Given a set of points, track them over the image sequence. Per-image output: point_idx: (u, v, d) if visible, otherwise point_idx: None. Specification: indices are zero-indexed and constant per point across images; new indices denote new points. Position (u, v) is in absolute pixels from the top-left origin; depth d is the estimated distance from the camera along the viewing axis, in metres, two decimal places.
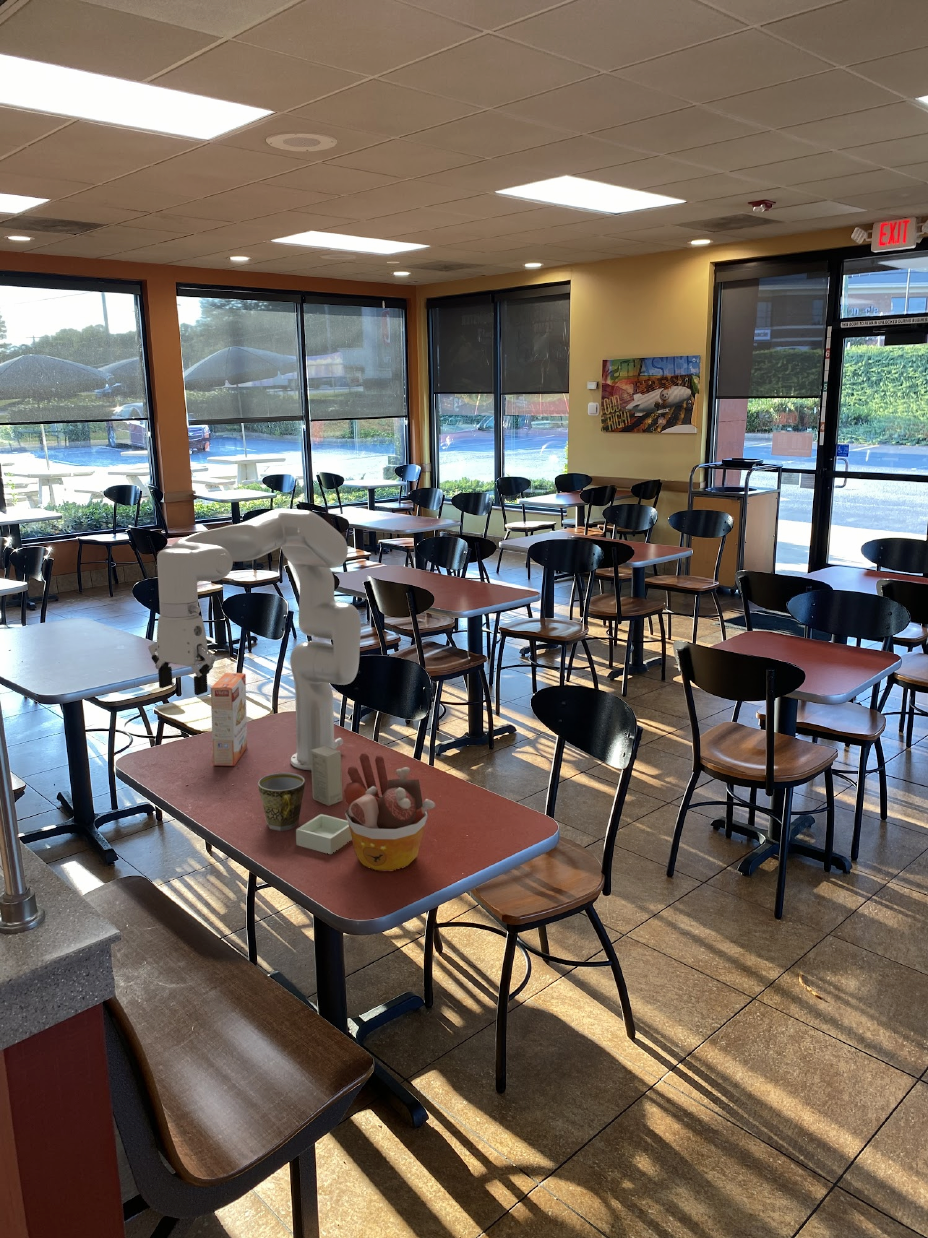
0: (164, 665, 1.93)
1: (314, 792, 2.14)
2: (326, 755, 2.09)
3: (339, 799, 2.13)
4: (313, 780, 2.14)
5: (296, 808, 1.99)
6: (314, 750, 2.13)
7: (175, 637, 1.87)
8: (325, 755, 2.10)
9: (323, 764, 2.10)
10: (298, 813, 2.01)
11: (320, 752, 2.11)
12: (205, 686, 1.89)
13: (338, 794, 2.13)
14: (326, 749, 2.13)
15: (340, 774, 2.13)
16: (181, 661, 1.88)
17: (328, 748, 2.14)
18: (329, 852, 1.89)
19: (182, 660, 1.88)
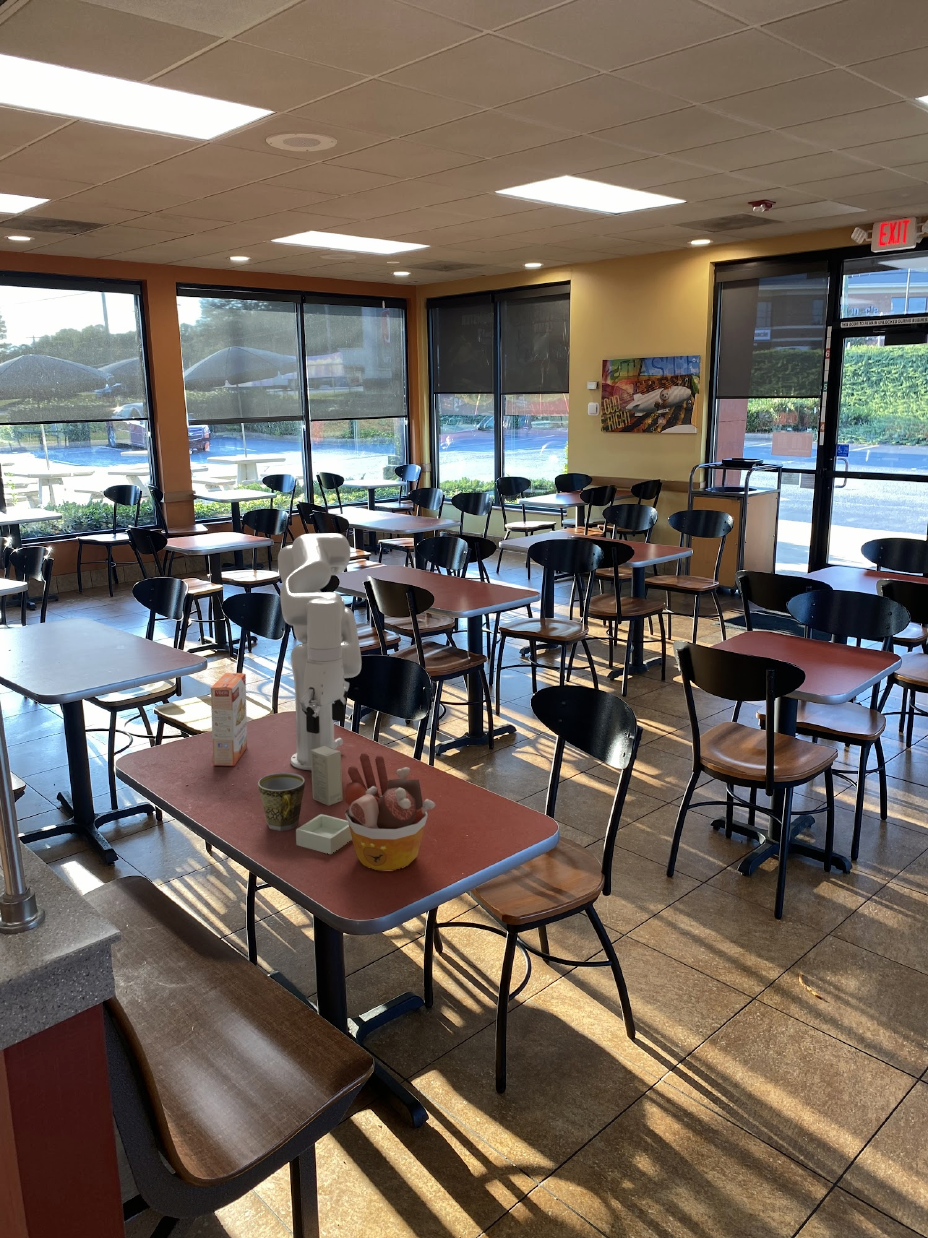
0: None
1: (314, 792, 2.14)
2: (326, 755, 2.09)
3: (339, 799, 2.13)
4: (313, 780, 2.14)
5: (296, 808, 1.99)
6: (314, 750, 2.13)
7: (336, 676, 2.08)
8: (325, 755, 2.10)
9: (323, 764, 2.10)
10: (298, 813, 2.01)
11: (320, 752, 2.11)
12: None
13: (338, 794, 2.13)
14: (327, 749, 2.13)
15: (340, 774, 2.13)
16: (338, 696, 2.10)
17: (328, 748, 2.14)
18: (329, 852, 1.89)
19: (339, 695, 2.10)
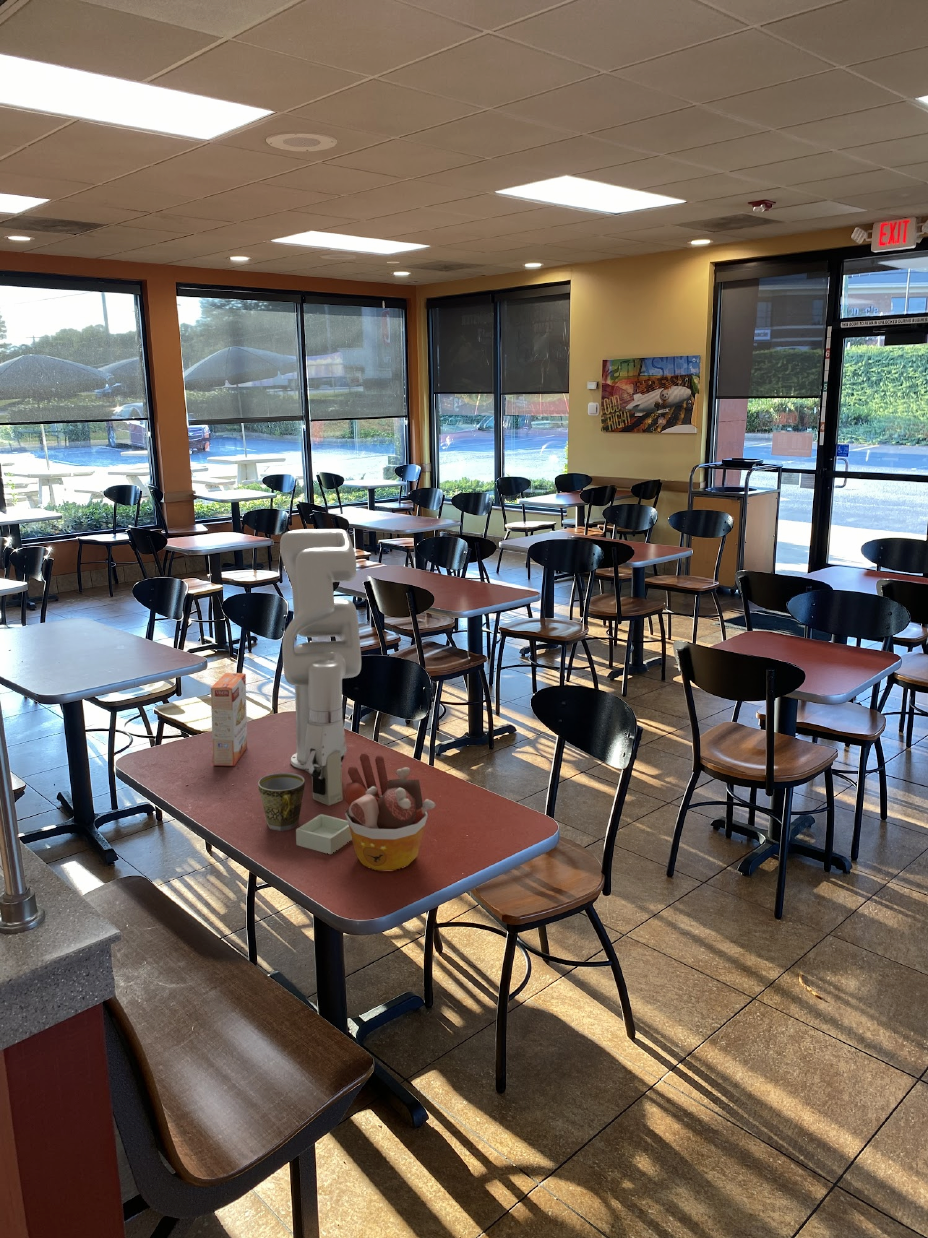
0: None
1: None
2: None
3: (339, 799, 2.13)
4: None
5: (296, 808, 1.99)
6: None
7: (337, 736, 2.11)
8: None
9: None
10: (298, 813, 2.01)
11: None
12: None
13: (338, 794, 2.13)
14: None
15: (340, 774, 2.13)
16: None
17: None
18: (329, 852, 1.89)
19: None
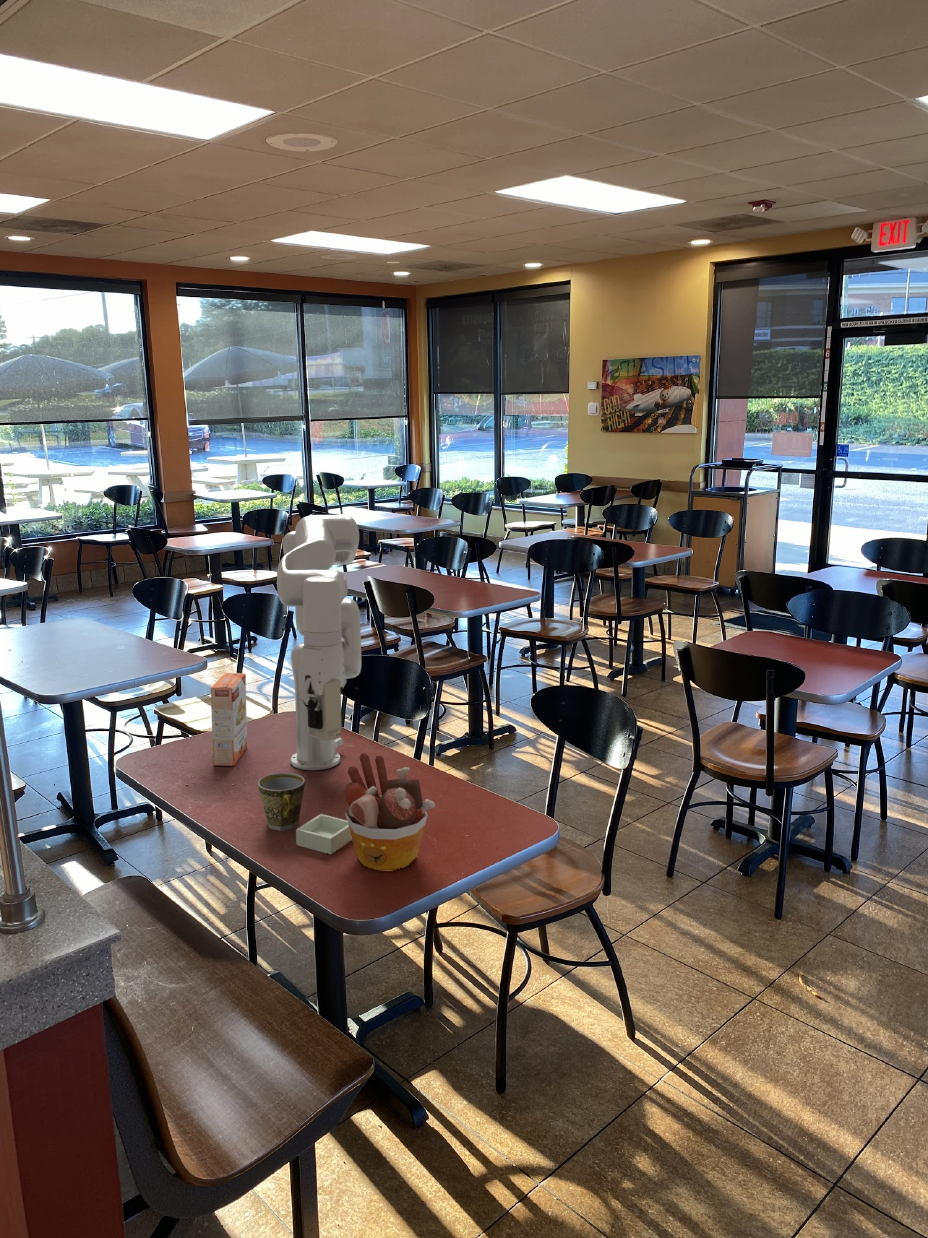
0: None
1: None
2: None
3: (338, 735, 1.89)
4: None
5: (296, 808, 1.99)
6: None
7: (336, 663, 1.87)
8: None
9: None
10: (298, 813, 2.01)
11: None
12: None
13: (336, 728, 1.88)
14: None
15: (339, 706, 1.88)
16: None
17: None
18: (329, 852, 1.89)
19: None
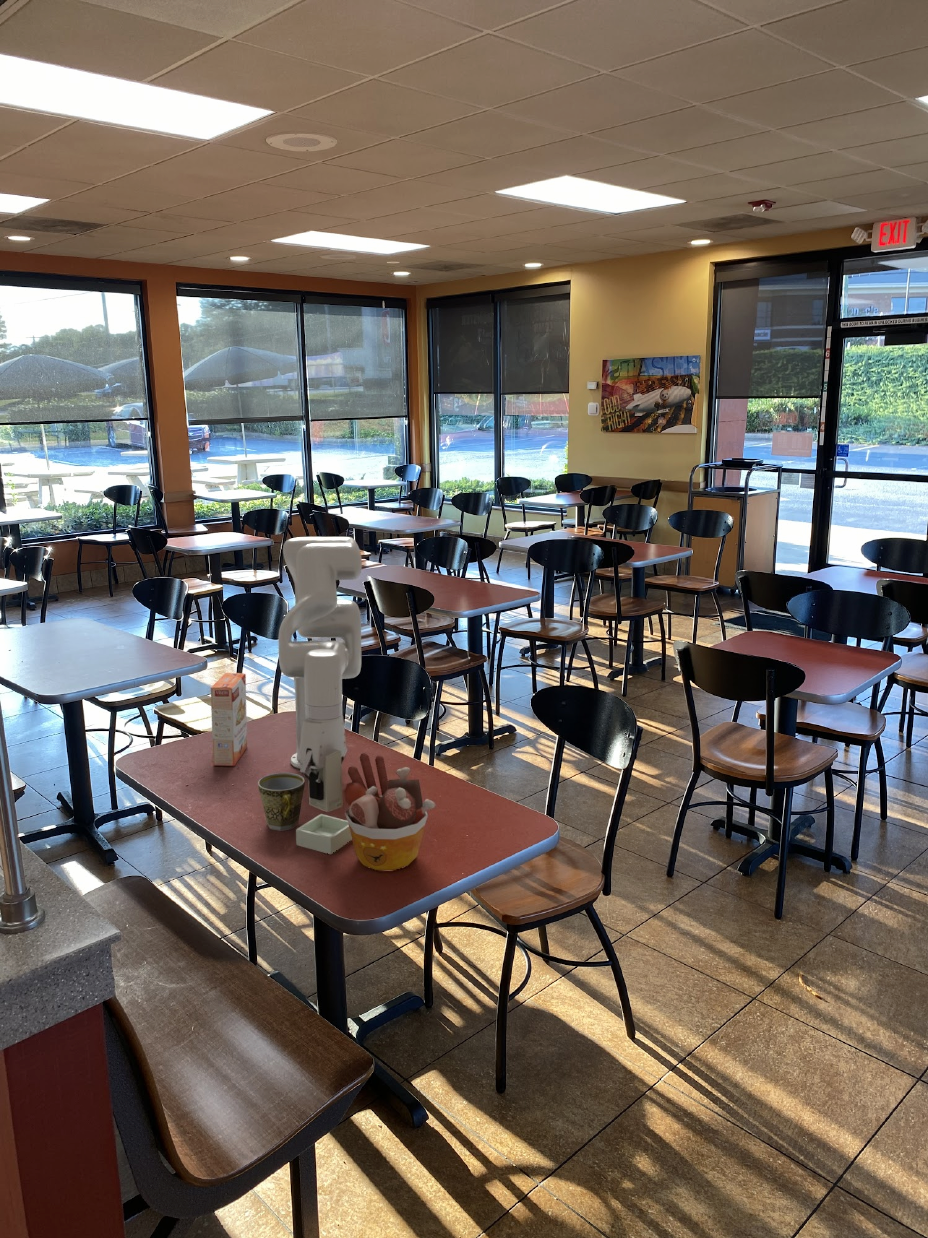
0: None
1: None
2: None
3: (339, 805, 1.91)
4: None
5: (296, 808, 1.99)
6: None
7: (336, 735, 1.89)
8: None
9: None
10: (298, 813, 2.01)
11: None
12: None
13: (337, 799, 1.90)
14: None
15: (340, 777, 1.90)
16: None
17: None
18: (329, 852, 1.89)
19: None
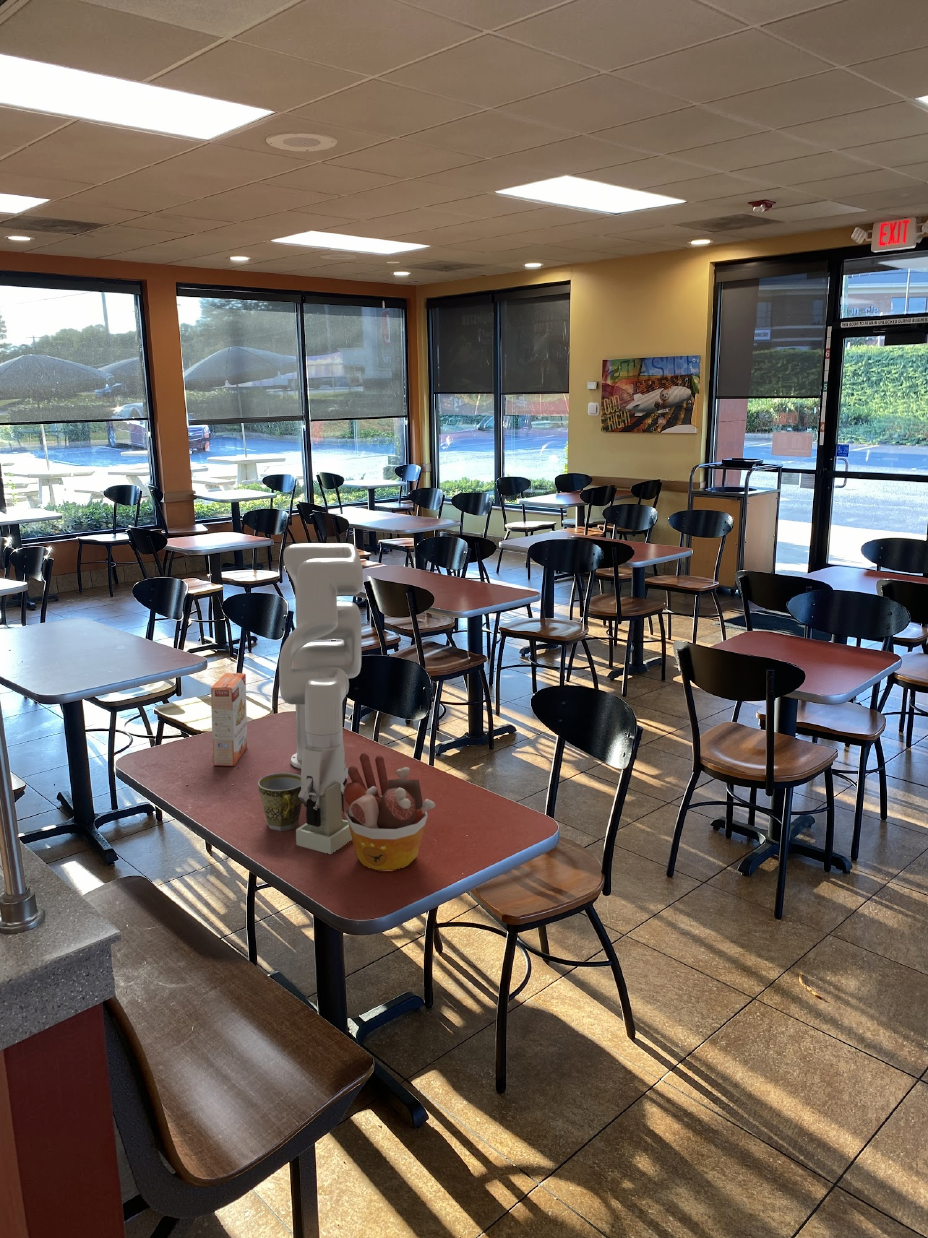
0: None
1: (311, 829, 1.93)
2: None
3: None
4: None
5: (296, 808, 1.99)
6: None
7: (337, 762, 1.90)
8: None
9: (322, 798, 1.89)
10: (298, 813, 2.01)
11: None
12: None
13: (338, 830, 1.92)
14: None
15: (340, 808, 1.92)
16: None
17: None
18: (329, 852, 1.89)
19: (339, 781, 1.92)
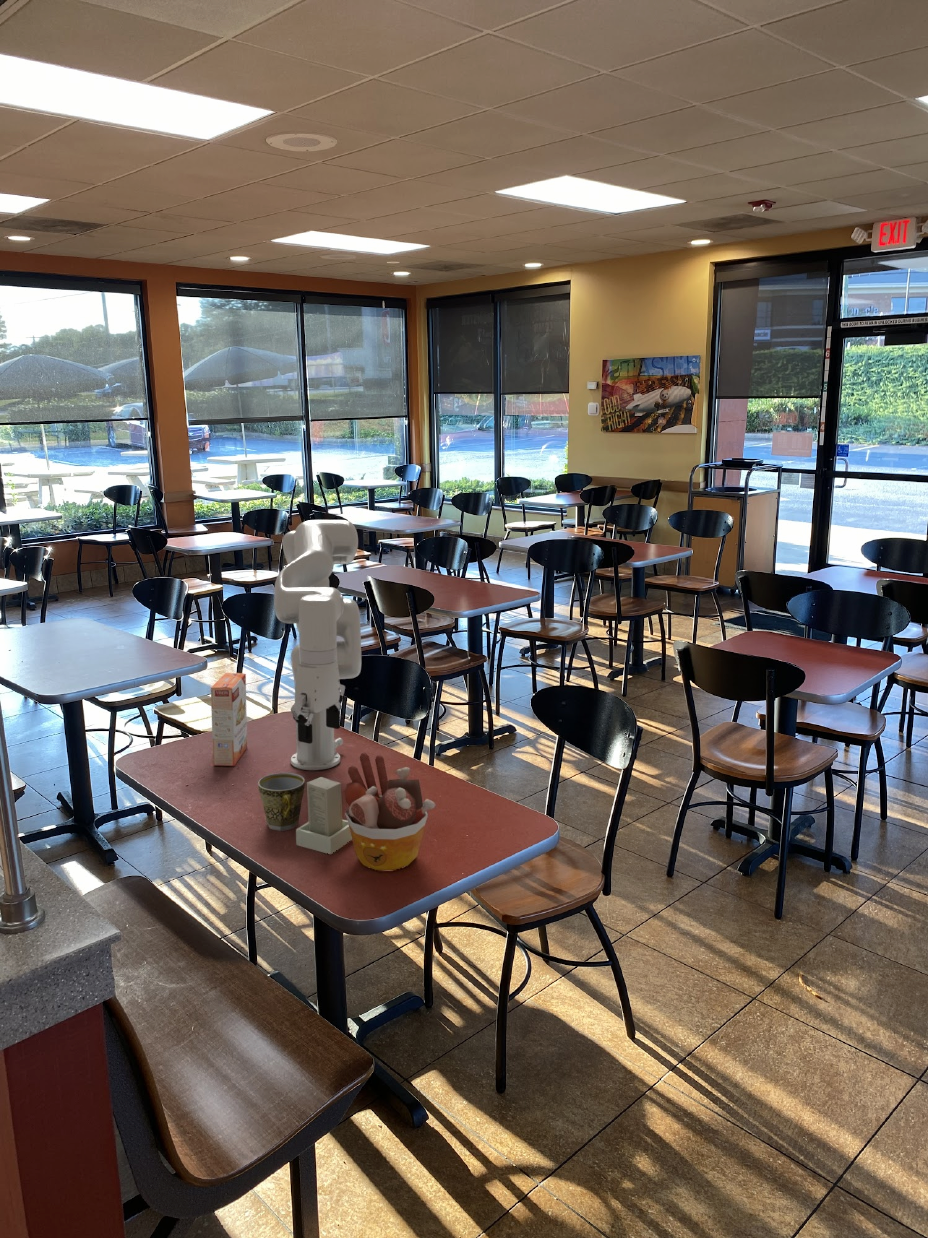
0: None
1: (311, 829, 1.93)
2: (326, 788, 1.89)
3: None
4: (310, 815, 1.93)
5: (296, 808, 1.99)
6: (311, 782, 1.91)
7: (331, 680, 1.89)
8: (324, 788, 1.89)
9: (322, 798, 1.89)
10: (298, 813, 2.01)
11: (318, 785, 1.90)
12: None
13: (338, 830, 1.92)
14: (324, 780, 1.93)
15: (340, 808, 1.92)
16: (333, 702, 1.91)
17: (326, 780, 1.93)
18: (329, 852, 1.89)
19: (334, 701, 1.92)
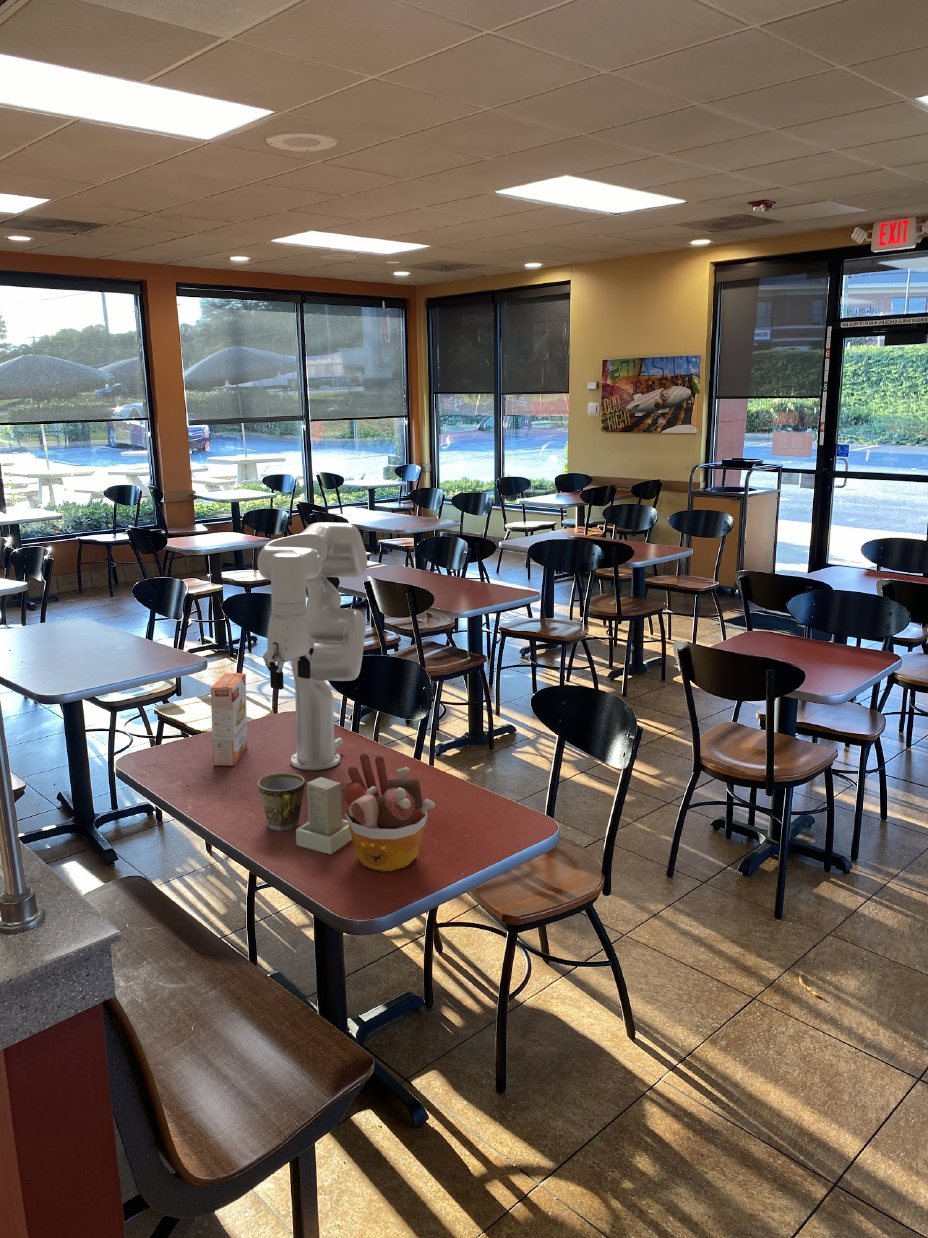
0: None
1: (311, 829, 1.93)
2: (326, 788, 1.89)
3: None
4: (310, 815, 1.93)
5: (296, 808, 1.99)
6: (311, 782, 1.91)
7: (301, 632, 2.05)
8: (325, 788, 1.89)
9: (322, 798, 1.89)
10: (298, 813, 2.01)
11: (318, 785, 1.90)
12: None
13: (338, 830, 1.92)
14: (324, 780, 1.93)
15: (340, 808, 1.92)
16: (303, 652, 2.07)
17: (326, 780, 1.93)
18: (329, 852, 1.89)
19: (304, 651, 2.08)
